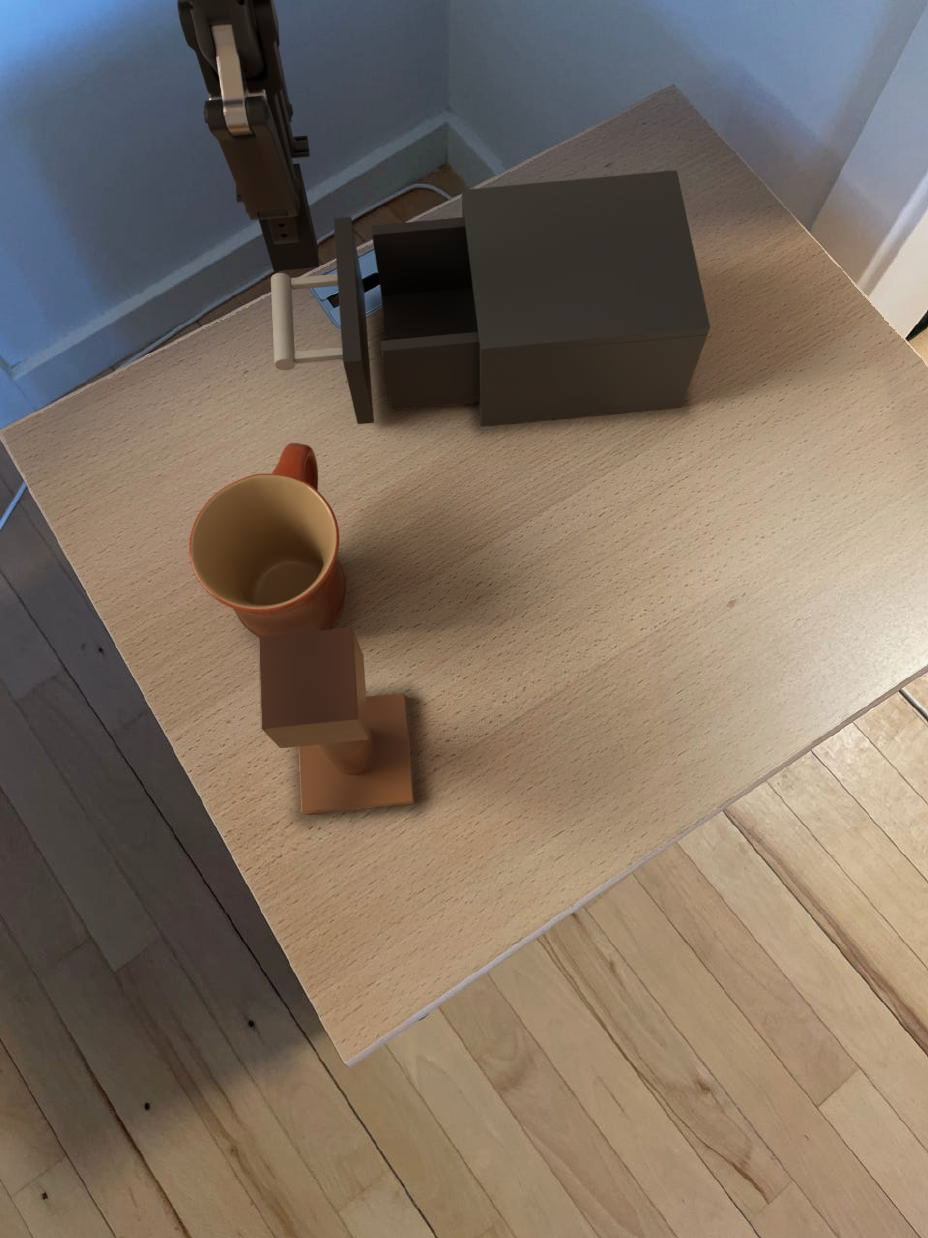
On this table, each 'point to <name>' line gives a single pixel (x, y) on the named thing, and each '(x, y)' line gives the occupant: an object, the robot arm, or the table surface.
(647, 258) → the cabinet
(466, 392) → the drawer
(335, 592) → the mug
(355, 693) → the block
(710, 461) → the table surface
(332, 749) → the post
